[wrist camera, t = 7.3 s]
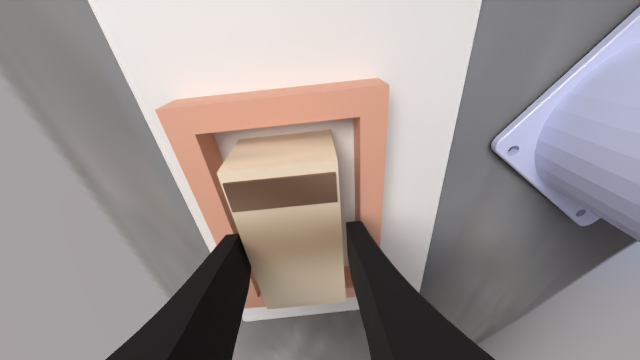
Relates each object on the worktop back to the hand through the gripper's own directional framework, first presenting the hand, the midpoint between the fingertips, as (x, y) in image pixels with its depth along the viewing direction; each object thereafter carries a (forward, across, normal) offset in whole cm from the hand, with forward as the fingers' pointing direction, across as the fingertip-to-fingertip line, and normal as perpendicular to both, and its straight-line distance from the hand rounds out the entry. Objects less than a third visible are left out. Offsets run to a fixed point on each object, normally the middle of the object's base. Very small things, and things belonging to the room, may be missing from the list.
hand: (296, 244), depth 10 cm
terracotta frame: (+3, 0, 0) cm, 3 cm away
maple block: (+2, 0, 0) cm, 3 cm away
